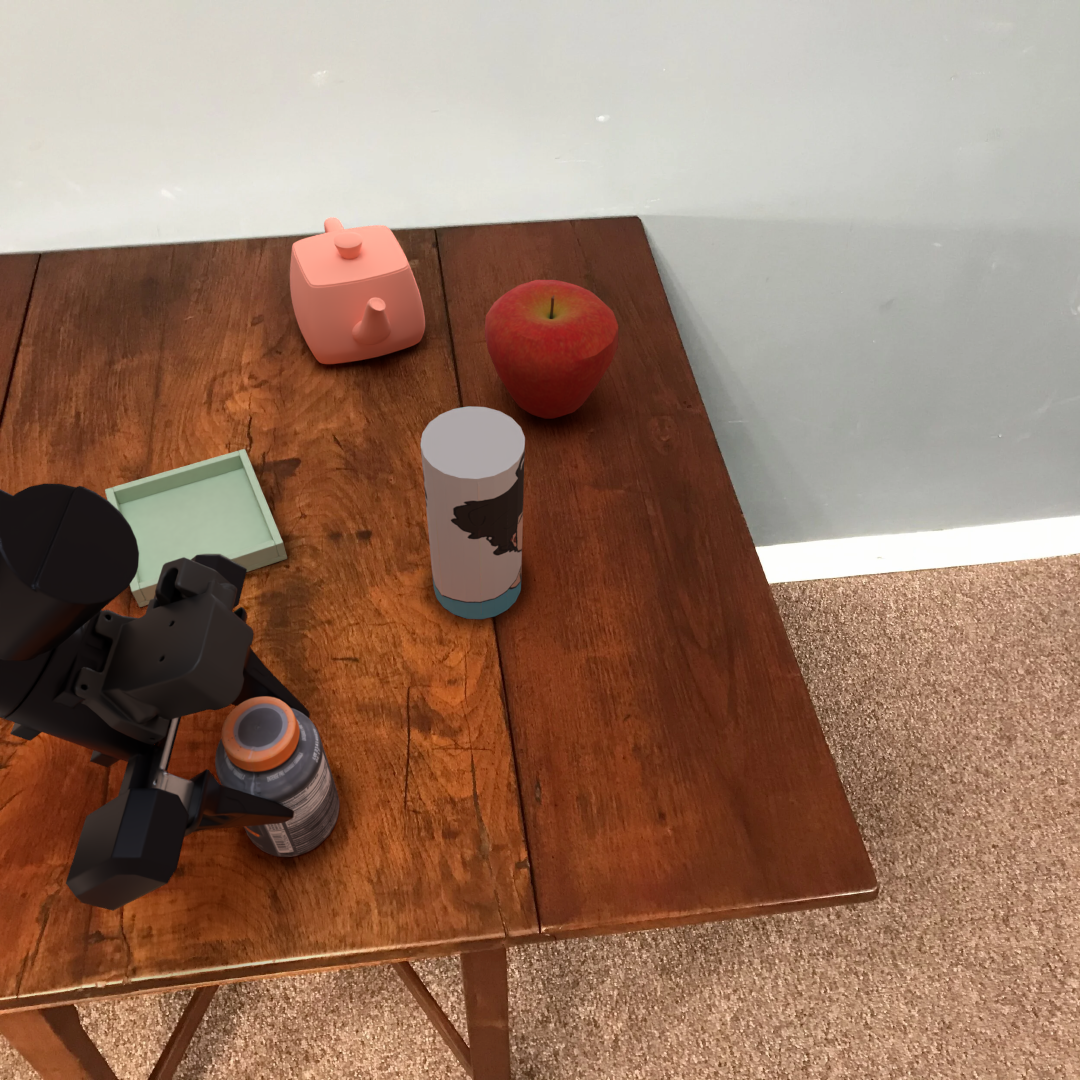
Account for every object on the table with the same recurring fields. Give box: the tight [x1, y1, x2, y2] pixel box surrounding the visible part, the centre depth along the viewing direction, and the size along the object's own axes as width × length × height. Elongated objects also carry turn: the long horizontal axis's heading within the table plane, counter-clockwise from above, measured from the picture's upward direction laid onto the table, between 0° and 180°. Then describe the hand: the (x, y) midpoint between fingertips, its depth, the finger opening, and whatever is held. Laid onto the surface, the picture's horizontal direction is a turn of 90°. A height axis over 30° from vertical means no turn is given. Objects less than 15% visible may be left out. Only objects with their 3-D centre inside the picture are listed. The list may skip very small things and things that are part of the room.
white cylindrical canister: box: [420, 405, 526, 620], centre depth 66 cm, size 7×7×15 cm
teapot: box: [289, 216, 426, 365], centre depth 87 cm, size 12×18×10 cm, turn 22°
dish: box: [104, 448, 288, 608], centre depth 74 cm, size 11×11×2 cm
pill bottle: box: [214, 696, 340, 858], centre depth 55 cm, size 6×6×11 cm
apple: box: [484, 279, 620, 420], centre depth 81 cm, size 11×11×12 cm
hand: (298, 766), depth 54 cm, fingers closed on pill bottle, 6 cm apart
